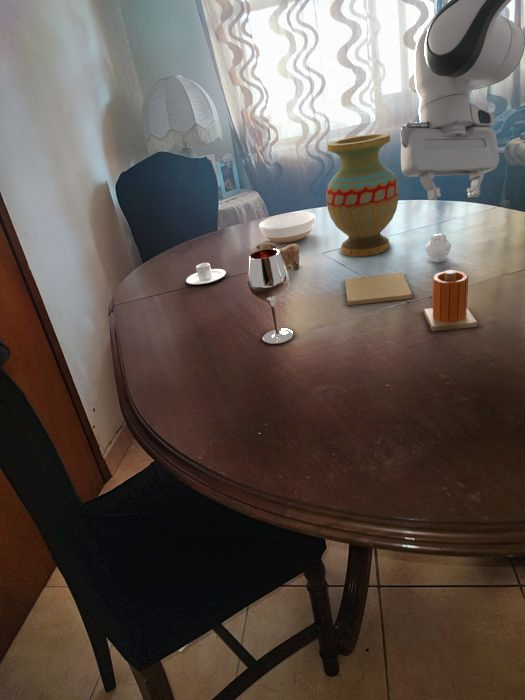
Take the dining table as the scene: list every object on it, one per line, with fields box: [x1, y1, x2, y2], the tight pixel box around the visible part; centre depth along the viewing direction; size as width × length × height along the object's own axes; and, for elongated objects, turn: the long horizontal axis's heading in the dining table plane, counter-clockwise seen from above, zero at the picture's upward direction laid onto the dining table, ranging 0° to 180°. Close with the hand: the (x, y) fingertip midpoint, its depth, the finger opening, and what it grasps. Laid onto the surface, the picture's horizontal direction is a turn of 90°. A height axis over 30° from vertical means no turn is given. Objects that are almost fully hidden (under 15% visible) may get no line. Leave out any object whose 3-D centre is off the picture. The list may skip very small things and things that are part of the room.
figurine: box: [256, 242, 301, 270], centre depth 128 cm, size 7×16×10 cm, turn 139°
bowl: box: [258, 211, 317, 244], centre depth 159 cm, size 20×20×6 cm
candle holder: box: [185, 262, 227, 285], centre depth 136 cm, size 12×12×4 cm
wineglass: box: [247, 248, 294, 345], centre depth 92 cm, size 8×8×18 cm
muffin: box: [425, 233, 452, 263], centre depth 117 cm, size 6×6×7 cm
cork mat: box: [344, 271, 413, 306], centre depth 109 cm, size 14×14×1 cm
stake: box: [423, 269, 478, 332], centre depth 88 cm, size 8×8×10 cm
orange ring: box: [432, 270, 469, 322], centre depth 88 cm, size 6×6×8 cm
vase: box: [325, 132, 399, 257], centre depth 130 cm, size 20×20×30 cm
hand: (454, 197), depth 86 cm, fingers open, 8 cm apart
